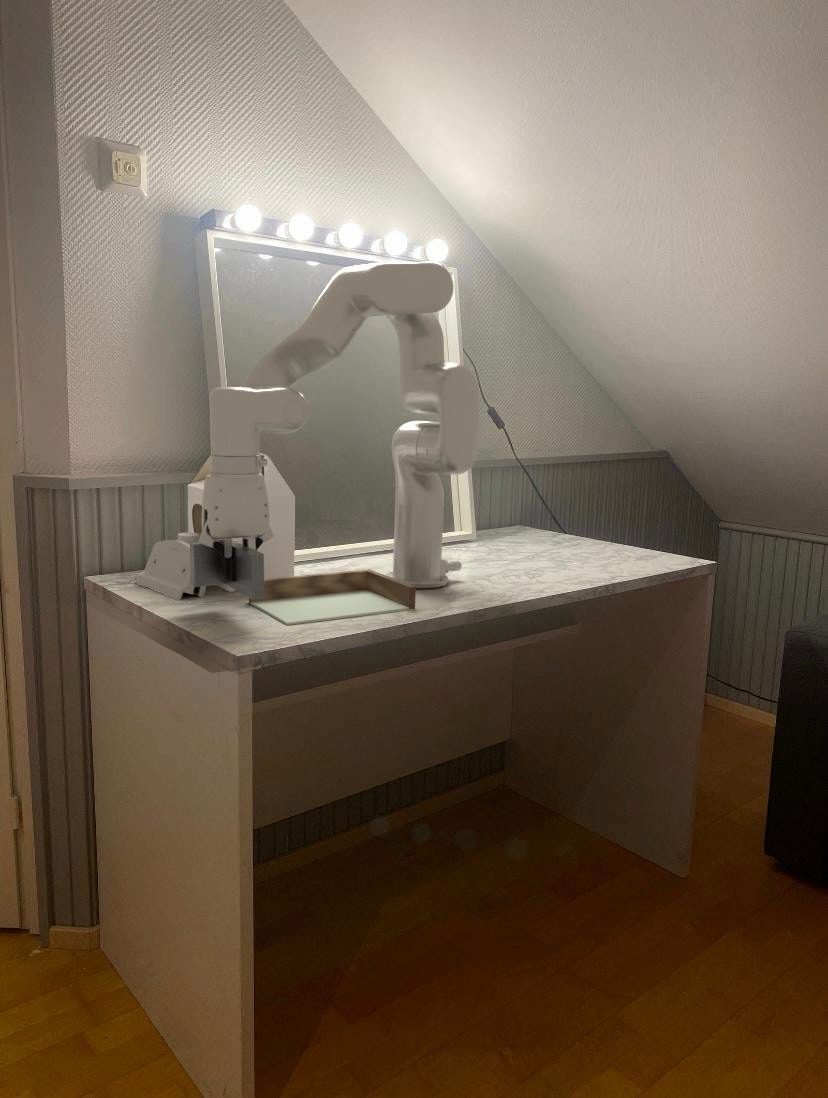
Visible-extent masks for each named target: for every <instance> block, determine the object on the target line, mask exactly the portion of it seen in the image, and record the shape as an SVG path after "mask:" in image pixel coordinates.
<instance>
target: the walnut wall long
mask: <svg viewBox="0 0 828 1098" xmlns="http://www.w3.org/2000/svg"><path fill="white" fill-rule="evenodd" d="M367 571H374V570H372V569H370V568H369V569H359V570H357V569H356V570H349V571H348V570H347V571H336V572H326V573H315V574H302V575H294V576H291V577H280V578H268V579H264V598H261V599H253V600H252V599H250V598H249V597H248V603H249V604H250V605H251V602H257V601H267V600H276V599H286V598H295V597H305V596H314V595H324V594H333V593H343V592H352V591H361V590H367Z"/></svg>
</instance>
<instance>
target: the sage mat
mask: <svg viewBox="0 0 828 1098" xmlns="http://www.w3.org/2000/svg"><path fill="white" fill-rule="evenodd" d="M250 605H251V606H253V607H255V608H256V609H258V610H260V611H262V612H263V613H265V614H267V615H269V616H270V617H273V618H274V619H275V620H277V621H280V622H281V623H283V624H284V625H285V626H290V625H292V626H293V625H299V624H308V623H317V622H324V621H331V620H341V619H348V618H358V617H363V616H373V615H381V614H386V613H387V614H388V613H396V612H404V610H405V611H410V610H409V607H406V606H404V605H402V604H399V603H397V602H394V601H392V600H390V599H387V598H385V597H382V596H380V595H378V594H375V593H373V592H370V591H368V590H361V591H352V592H343V593H333V594H324V595H314V596H305V597H295V598H286V599H276V600H267V601H257V602H251V604H250Z"/></svg>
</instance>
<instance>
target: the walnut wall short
mask: <svg viewBox="0 0 828 1098" xmlns="http://www.w3.org/2000/svg"><path fill="white" fill-rule="evenodd" d="M367 590H368V591H370V592H373V593H375V594H378V595H380V596H382V597H385V598H387V599H390V600H392V601H394V602H397V603H399V604H402V605H404V606H406V607H409V610H408V611H411V610H410V609H413V610H416V593H417V591H416V590H417V588H416V587H415V586H413V585H410V584H407V583H405V582H402V581H399V580H397V579H394V578H391V577H389V576H386V574H383V573H381V572H378V571H375V570H373V571H367Z"/></svg>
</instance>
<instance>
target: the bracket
mask: <svg viewBox="0 0 828 1098" xmlns="http://www.w3.org/2000/svg"><path fill="white" fill-rule="evenodd" d="M216 541H218V542H219V540H216ZM232 554H233V557H234V559H235V582H230V581H228V580H226V579H225V576H223V574H222V555H220V554H219V553H218V552H217V551H216V550H215V549H214V548H212V547H209V546H206V545H203V544H201V543H200V542H192V543H190V570H191V585H193V586H194V587H200V586H206V587H207V586H215V585H216V586H217V584H226V585H228V586H229V587H231V588H233V589H235V590H236V591H235V592H238V593H240V594H242V595H243V596H245V597H247V598H248V599H249V598H250V599H252V600H253V599H261V598H264V554H263V553H261V552H258V551H256V550H254V549H252V548H249V547H247V546H245V545H243V544H240V543H238V542H236V541H234V540H232Z"/></svg>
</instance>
